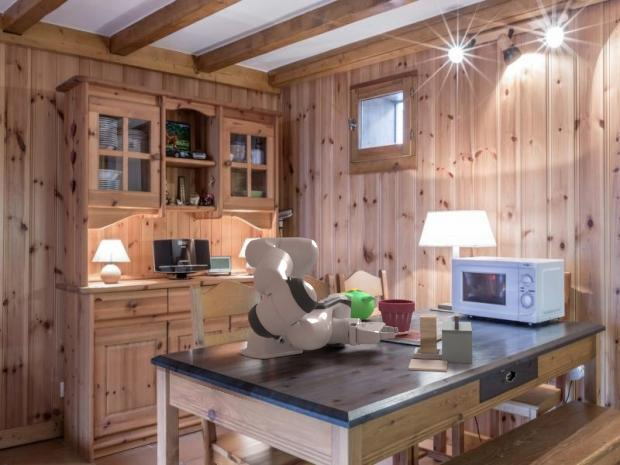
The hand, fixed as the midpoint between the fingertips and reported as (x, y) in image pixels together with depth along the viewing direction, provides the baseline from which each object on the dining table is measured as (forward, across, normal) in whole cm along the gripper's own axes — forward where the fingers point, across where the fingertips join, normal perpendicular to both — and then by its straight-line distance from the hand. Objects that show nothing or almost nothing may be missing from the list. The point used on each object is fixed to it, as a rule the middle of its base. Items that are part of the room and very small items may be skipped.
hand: (396, 332), depth 186 cm
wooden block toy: (+15, 0, -7) cm, 16 cm away
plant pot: (-4, -37, -7) cm, 38 cm away
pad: (+11, +14, -7) cm, 19 cm away
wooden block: (+10, 0, -7) cm, 13 cm away
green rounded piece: (-25, -63, -7) cm, 68 cm away
